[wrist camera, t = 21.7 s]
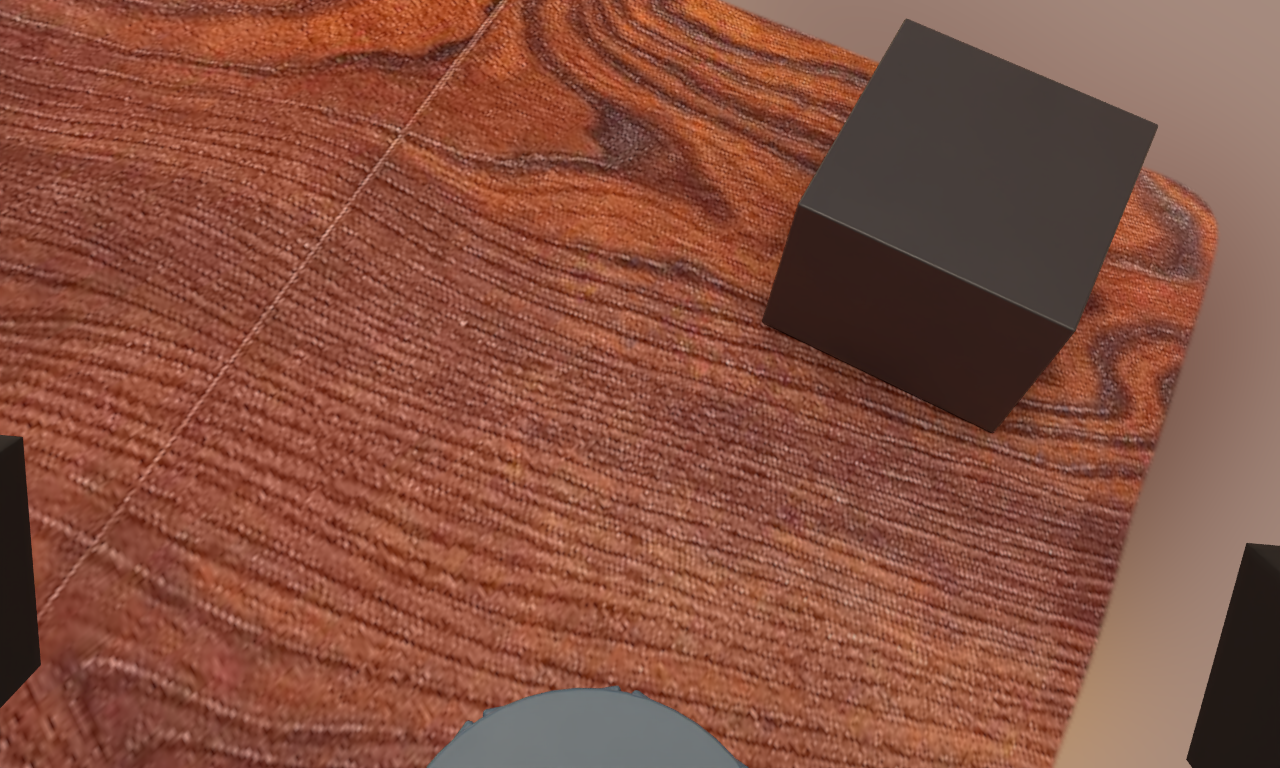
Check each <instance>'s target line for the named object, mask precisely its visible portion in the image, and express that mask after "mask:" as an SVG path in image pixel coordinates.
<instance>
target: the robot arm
mask: <svg viewBox="0 0 1280 768" xmlns="http://www.w3.org/2000/svg"><path fill="white" fill-rule="evenodd" d="M40 665H41V661H40V648H39V636H38V623H37V610H36V598H35V585H34V573H33V560H32V547H31V535H30V522H29V509H28V497H27V484H26V472H25V459H24V446H23V437H17V436H6V435H0V708H1V707H2V706H3V705H4V704H5V703H6V701H7V700H8V699H9V698H10V697H11V696H12V695H13V694H14V693H15V692H16V691H17V690H18V689H19V688H20V687H21V685H22V684H23V683H24V682H25V681H26V680H27V679H28V678H29V677H30V676H31V675H32V674H33V673H34V672H35V671H36V670H37V668H38V667H39V666H40ZM1186 760H1187V761H1188V762H1189V764H1190V765H1191V767H1192V768H1280V546H1275V545H1264V544H1252V543H1246V547H1245V551H1244V554H1243V557H1242V561H1241V565H1240V568H1239V572H1238V575H1237V580H1236V583H1235V586H1234V590H1233V594H1232V597H1231V601H1230V604H1229V608H1228V611H1227V615H1226V619H1225V622H1224V626H1223V629H1222V633H1221V637H1220V640H1219V644H1218V647H1217V651H1216V655H1215V658H1214V662H1213V665H1212V669H1211V673H1210V676H1209V680H1208V683H1207V687H1206V691H1205V694H1204V698H1203V702H1202V705H1201V709H1200V712H1199V716H1198V719H1197V723H1196V727H1195V730H1194V734H1193V738H1192V742H1191V745H1190V748H1189V752H1188V755H1187V759H1186Z"/></svg>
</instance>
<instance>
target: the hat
mask: <svg viewBox="0 0 1280 768" xmlns="http://www.w3.org/2000/svg"><path fill="white" fill-rule="evenodd" d="M426 768H748V767H747V766H746V765H744V764H743V763H742V762H740V761H739V760H737V759H736V758H735V757H734V756H733V755H732V754H731V753H730V752H729V751H728V750H727V749H726V748H725V747H724V746H723V745H722V744H721V743H720V742H719V741H718V740H717V739H716V738H715V737H713V736H712V735H711V734H710V733H708V732H707V731H706V730H705V729H703V728H702V727H701V726H700V725H698V724H697V723H696V722H694V721H692V720H691V719H689V718H687V717H686V716H684V715H683V714H681V713H679V712H678V711H676V710H674V709H672V708H670V707H668V706H665V705H663V704H661V703H658V702H656V701H654V700H652V699H650V698H648V697H647V696H645V695H644V694H643V693H641V692H640V691H637V690H635V691H633V692H632V694H631V693H628V692H622V691H621V689H620V687H619V686H611V687H605V688H571V689H563V690H554V691H549V692H545V693H541V694H537V695H533V696H529V697H525V698H523V699H520V700H518V701H515V702H513V703H510V704H508V705H505V706H501V707H496V708H490V709H486V710H484V711H483V717H482V718H481V719H479V720H478V721H476V722H475V723H473V722H472V721H467V722H465V724H464V725H463V727H462V728H461V729H460V731H459V732H458V733H457V735H456V736H455V737H454V739H453V740H452V741H451V742H450V743H449V744H448V745H446V746H445V747H444V748H443V749H442V750H441V751H440V752H439V753H438V754H437V755H436V756H435V758H434V759H433V760H432V761H431V762H430V764H429V765H428V766H427V767H426Z"/></svg>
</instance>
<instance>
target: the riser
mask: <svg viewBox="0 0 1280 768" xmlns="http://www.w3.org/2000/svg"><path fill="white" fill-rule="evenodd" d="M1157 128H1158V125H1157V124H1155V123H1153V122H1151V121H1148V120H1146V119H1143V118H1141V117H1139V116H1136V115H1134V114H1132V113H1129V112H1127V111H1124V110H1122V109H1120V108H1117V107H1115V106H1113V105H1110V104H1108V103H1106V102H1103V101H1101V100H1098V99H1096V98H1094V97H1091V96H1089V95H1086V94H1084V93H1082V92H1080V91H1077V90H1075V89H1072V88H1070V87H1068V86H1065V85H1063V84H1061V83H1058V82H1056V81H1054V80H1051V79H1049V78H1046V77H1044V76H1042V75H1039V74H1037V73H1035V72H1032V71H1030V70H1027V69H1025V68H1023V67H1020V66H1018V65H1015V64H1013V63H1011V62H1009V61H1006V60H1004V59H1001V58H999V57H997V56H994V55H992V54H989V53H987V52H985V51H982V50H980V49H978V48H975V47H973V46H971V45H968V44H966V43H964V42H961V41H959V40H956V39H954V38H952V37H949V36H947V35H944V34H942V33H940V32H937V31H935V30H933V29H930V28H928V27H926V26H923V25H921V24H919V23H916V22H914V21H911V20H909V19H905V20H904V22H903V24H902V25H901V27H900V29H899V31H898V32H897V34H896V36H895V38H894V39H893V41H892V43H891V44H890V46H889V48H888V50H887V51H886V53H885V55H884V57H883V58H882V60H881V62H880V63H879V65H878V67H877V69H876V70H875V72H874V74H873V75H872V77H871V79H870V81H869V82H868V84H867V86H866V87H865V89H864V91H863V93H862V94H861V96H860V98H859V100H858V101H857V103H856V105H855V106H854V108H853V110H852V112H851V113H850V115H849V117H848V119H847V120H846V122H845V124H844V125H843V127H842V129H841V131H840V132H839V134H838V136H837V138H836V139H835V141H834V143H833V144H832V146H831V148H830V150H829V151H828V153H827V155H826V157H825V158H824V160H823V162H822V163H821V165H820V167H819V169H818V170H817V172H816V174H815V175H814V177H813V179H812V181H811V182H810V184H809V186H808V188H807V189H806V191H805V193H804V194H803V196H802V198H801V200H800V201H799V203H798V206H797V209H796V212H795V215H794V219H793V222H792V225H791V228H790V232H789V235H788V238H787V241H786V245H785V248H784V251H783V254H782V258H781V261H780V264H779V267H778V271H777V274H776V277H775V280H774V284H773V287H772V290H771V293H770V297H769V300H768V303H767V306H766V309H765V313H764V316H763V319H762V322H763V323H765V324H767V325H769V326H771V327H773V328H775V329H778V330H780V331H782V332H784V333H786V334H788V335H790V336H792V337H794V338H796V339H798V340H800V341H803V342H805V343H807V344H809V345H811V346H813V347H815V348H817V349H819V350H821V351H823V352H825V353H827V354H830V355H832V356H834V357H836V358H838V359H840V360H842V361H844V362H846V363H848V364H850V365H852V366H854V367H857V368H859V369H861V370H863V371H865V372H867V373H869V374H871V375H873V376H875V377H877V378H879V379H881V380H884V381H886V382H888V383H890V384H892V385H894V386H896V387H898V388H900V389H902V390H904V391H906V392H908V393H911V394H913V395H915V396H917V397H919V398H921V399H923V400H925V401H927V402H929V403H931V404H933V405H935V406H938V407H940V408H942V409H944V410H946V411H948V412H950V413H952V414H954V415H956V416H958V417H960V418H962V419H965V420H967V421H969V422H971V423H973V424H975V425H977V426H979V427H981V428H983V429H985V430H987V431H990V432H992V433H994V432H995V431H996V429H997V428H998V427H999V426H1000V424H1001V423H1002V422H1003V421H1004V419H1005V418H1006V417H1007V416H1008V414H1009V413H1010V412H1011V411H1012V409H1013V408H1014V407H1015V406H1016V404H1017V403H1018V402H1019V401H1020V399H1021V398H1022V397H1023V396H1024V394H1025V393H1026V392H1027V391H1028V389H1029V388H1030V387H1031V386H1032V385H1033V383H1034V382H1035V381H1036V380H1037V378H1038V377H1039V376H1040V375H1041V373H1042V372H1043V371H1044V370H1045V368H1046V367H1047V366H1048V365H1049V363H1050V362H1051V361H1052V360H1053V358H1054V357H1055V356H1056V355H1057V353H1058V352H1059V351H1060V350H1061V348H1062V347H1063V346H1064V345H1065V343H1066V342H1067V341H1068V340H1069V338H1070V337H1071V336H1072V335H1073V333H1074V332H1075V331H1076V328H1077V326H1078V323H1079V321H1080V318H1081V316H1082V314H1083V311H1084V309H1085V306H1086V304H1087V301H1088V299H1089V296H1090V294H1091V291H1092V289H1093V286H1094V284H1095V281H1096V279H1097V276H1098V274H1099V272H1100V269H1101V267H1102V264H1103V262H1104V259H1105V257H1106V254H1107V252H1108V249H1109V247H1110V244H1111V242H1112V239H1113V237H1114V235H1115V232H1116V230H1117V227H1118V225H1119V222H1120V220H1121V217H1122V215H1123V212H1124V210H1125V207H1126V205H1127V202H1128V200H1129V197H1130V195H1131V193H1132V190H1133V188H1134V185H1135V183H1136V180H1137V178H1138V175H1139V173H1140V170H1141V168H1142V165H1143V163H1144V160H1145V158H1146V155H1147V153H1148V151H1149V148H1150V146H1151V143H1152V141H1153V138H1154V136H1155V133H1156V131H1157Z"/></svg>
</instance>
